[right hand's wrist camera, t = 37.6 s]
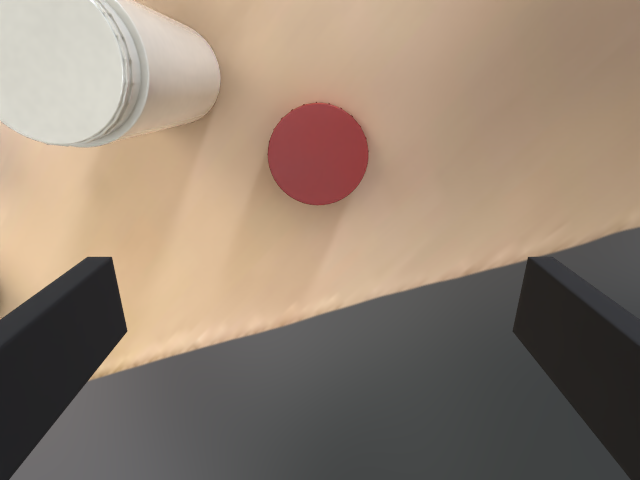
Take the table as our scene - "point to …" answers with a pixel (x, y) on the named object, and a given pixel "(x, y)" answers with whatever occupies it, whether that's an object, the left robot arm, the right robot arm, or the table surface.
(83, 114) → the jar
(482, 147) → the table surface
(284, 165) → the lid
